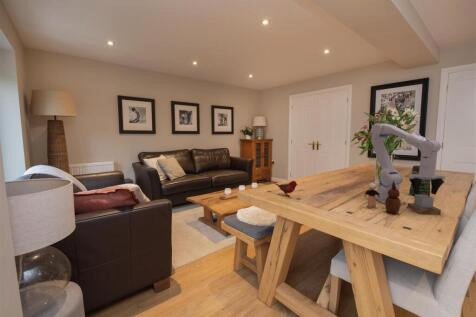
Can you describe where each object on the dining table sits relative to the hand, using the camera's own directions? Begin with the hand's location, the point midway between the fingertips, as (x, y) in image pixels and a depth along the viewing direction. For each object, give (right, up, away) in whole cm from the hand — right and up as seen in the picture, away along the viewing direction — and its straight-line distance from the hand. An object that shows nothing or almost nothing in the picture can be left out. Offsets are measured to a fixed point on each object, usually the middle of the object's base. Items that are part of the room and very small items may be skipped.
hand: (424, 193), depth 105 cm
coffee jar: (+21, -6, +28) cm, 35 cm away
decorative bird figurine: (-62, -5, +28) cm, 68 cm away
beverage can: (+1, -5, +31) cm, 31 cm away
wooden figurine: (-16, -9, -1) cm, 19 cm away
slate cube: (0, -6, +1) cm, 6 cm away
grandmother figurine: (-22, -8, +6) cm, 25 cm away
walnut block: (0, -9, +1) cm, 9 cm away
